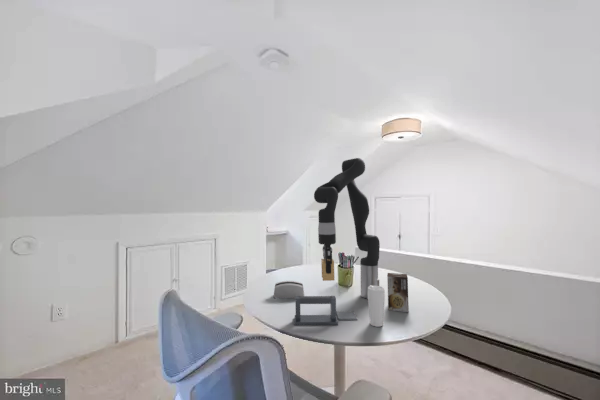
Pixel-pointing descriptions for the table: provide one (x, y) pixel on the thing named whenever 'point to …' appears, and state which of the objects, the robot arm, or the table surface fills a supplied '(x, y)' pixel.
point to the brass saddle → (324, 275)
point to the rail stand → (316, 319)
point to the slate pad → (346, 315)
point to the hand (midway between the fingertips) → (327, 271)
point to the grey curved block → (288, 289)
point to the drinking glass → (376, 305)
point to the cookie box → (398, 292)
